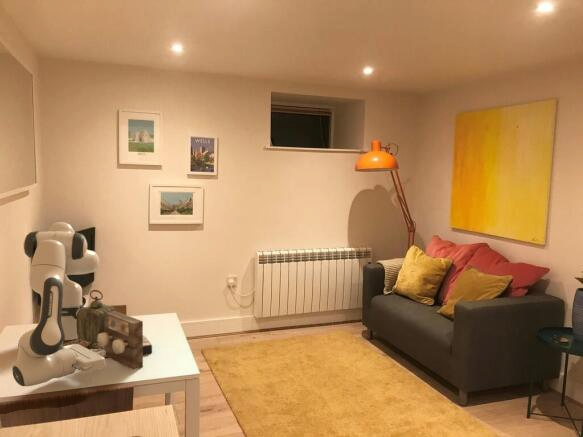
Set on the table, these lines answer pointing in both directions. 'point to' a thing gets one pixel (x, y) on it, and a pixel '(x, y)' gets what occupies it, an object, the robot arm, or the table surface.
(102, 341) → the button
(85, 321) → the tabletop clock
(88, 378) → the table surface
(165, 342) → the table surface
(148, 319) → the table surface
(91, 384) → the table surface
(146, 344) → the calculator
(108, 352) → the button panel
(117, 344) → the button
